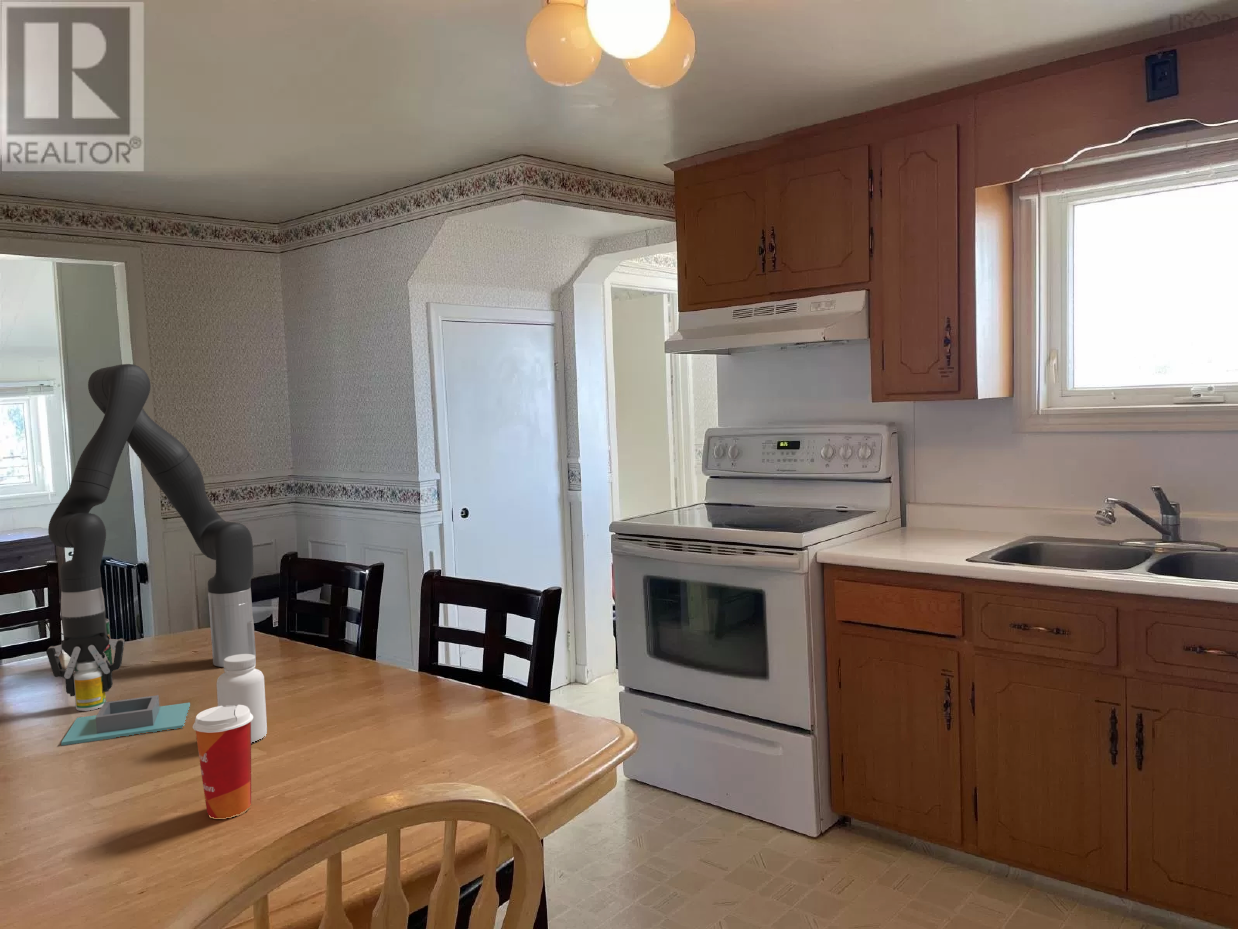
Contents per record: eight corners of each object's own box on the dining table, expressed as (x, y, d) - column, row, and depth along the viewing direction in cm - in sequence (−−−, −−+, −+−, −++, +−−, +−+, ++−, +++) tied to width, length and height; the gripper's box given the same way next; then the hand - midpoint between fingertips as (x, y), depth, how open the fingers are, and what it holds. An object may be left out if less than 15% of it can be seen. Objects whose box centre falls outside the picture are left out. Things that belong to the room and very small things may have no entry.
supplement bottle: (73, 707, 186) (70, 661, 185) (103, 701, 189) (100, 655, 189) (78, 713, 182) (74, 666, 181) (108, 707, 185) (105, 661, 185)
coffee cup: (210, 800, 140) (204, 704, 138) (266, 796, 140) (259, 701, 139) (189, 826, 131) (182, 724, 130) (248, 822, 132) (241, 721, 131)
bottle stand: (190, 705, 185) (188, 688, 184) (183, 728, 172) (182, 709, 171) (77, 720, 178) (76, 702, 178) (61, 745, 165) (59, 726, 164)
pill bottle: (277, 733, 167) (272, 653, 166) (242, 749, 160) (237, 666, 159) (245, 728, 170) (240, 649, 169) (210, 744, 163) (204, 661, 162)
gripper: (126, 603, 190) (132, 683, 191) (46, 611, 185) (53, 692, 186) (120, 611, 183) (126, 693, 184) (37, 619, 178) (44, 704, 179)
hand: (90, 692), depth 185 cm, fingers closed on supplement bottle, 5 cm apart
